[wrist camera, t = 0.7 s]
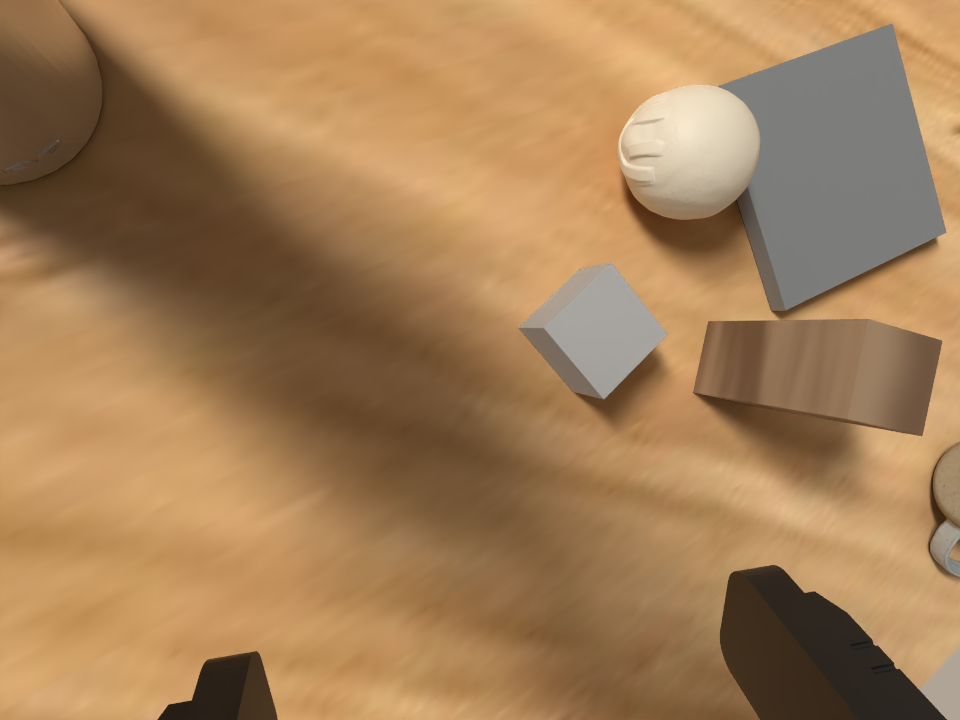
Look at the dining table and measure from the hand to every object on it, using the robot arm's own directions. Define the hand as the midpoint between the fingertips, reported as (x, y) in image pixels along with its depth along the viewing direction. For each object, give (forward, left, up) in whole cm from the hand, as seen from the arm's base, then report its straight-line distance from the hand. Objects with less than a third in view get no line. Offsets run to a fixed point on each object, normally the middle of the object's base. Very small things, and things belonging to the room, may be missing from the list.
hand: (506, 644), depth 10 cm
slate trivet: (-3, +33, -22) cm, 40 cm away
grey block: (0, +13, -22) cm, 26 cm away
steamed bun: (-7, +21, -23) cm, 31 cm away
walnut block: (+6, +22, -22) cm, 32 cm away
